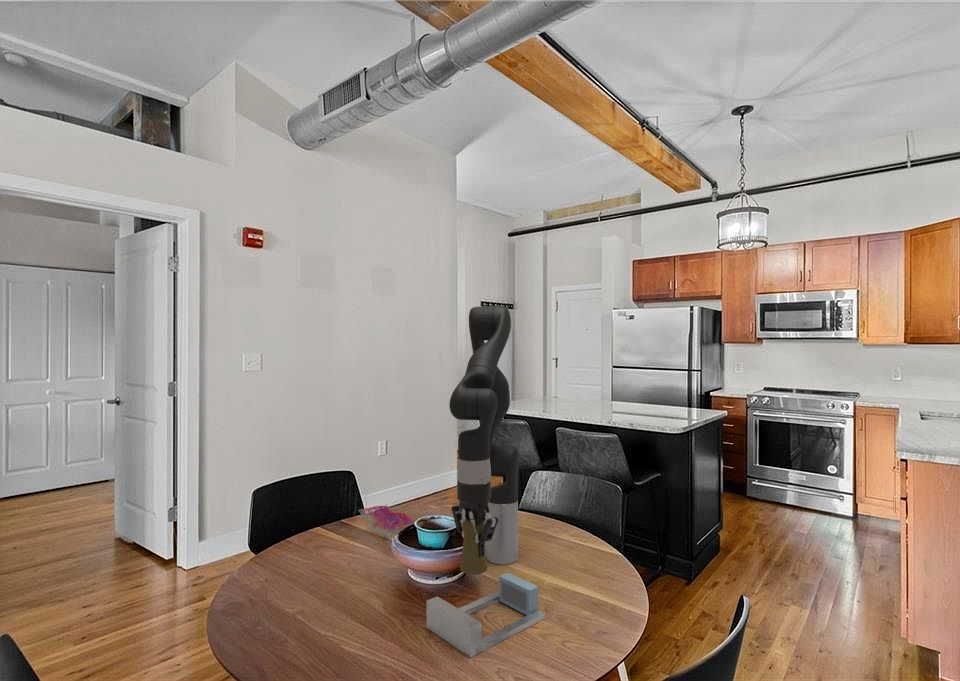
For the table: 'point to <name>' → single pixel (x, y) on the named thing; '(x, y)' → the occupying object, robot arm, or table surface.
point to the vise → (471, 624)
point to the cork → (472, 550)
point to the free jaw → (518, 593)
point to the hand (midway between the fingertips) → (474, 555)
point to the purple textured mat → (385, 520)
